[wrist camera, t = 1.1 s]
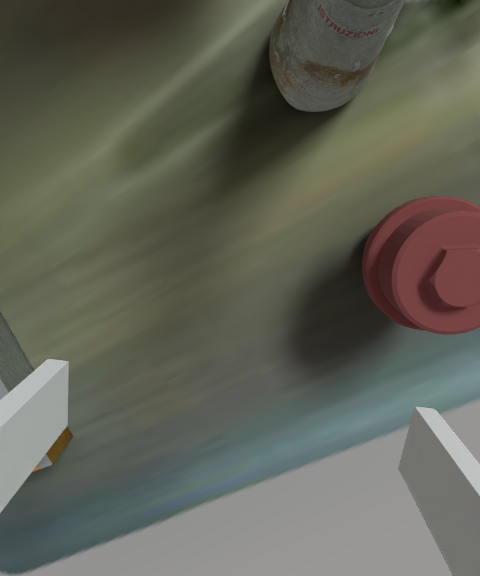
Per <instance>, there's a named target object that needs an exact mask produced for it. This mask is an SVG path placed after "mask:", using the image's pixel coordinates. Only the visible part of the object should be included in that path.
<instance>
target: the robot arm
mask: <svg viewBox="0 0 480 576" xmlns="http://www.w3.org/2000/svg"><path fill="white" fill-rule="evenodd" d="M68 362H69V361H61V360H54V359H47V360H46V361H45V362H44V363H43V364H42V365H40V366H39V367H38V368H37V369H36V370H35V371H34V372H32V373H31V374H30V375H29V376H28V377H27V378H25V379H24V380H23V381H22V382H21V383H20V384H18V385H17V386H16V387H15V388H14V389H13V390H11V391H10V392H9V393H8V394H7V395H6V396H4V397H3V398H2V399H1V400H0V513H1V512H2V510H3V509H4V508H5V506H6V505H7V504H8V502H9V501H10V500H11V498H12V497H13V496H14V495H15V493H16V492H17V491H18V489H19V488H20V487H21V485H22V484H23V483H24V481H25V480H26V479H27V478H28V476H29V475H30V474H31V472H32V471H33V470H34V468H35V467H36V466H37V464H38V463H39V462H40V461H41V459H42V458H43V457H44V455H45V454H46V453H47V451H48V450H49V449H50V447H51V446H52V445H53V444H54V442H55V441H56V440H57V438H58V437H59V436H60V434H61V433H62V432H63V430H64V429H65V428H66V427H67V419H68ZM398 469H399V471H400V472H401V474H402V476H403V478H404V480H405V482H406V484H407V486H408V488H409V490H410V492H411V494H412V496H413V498H414V500H415V502H416V504H417V506H418V508H419V510H420V512H421V514H422V516H423V518H424V520H425V522H426V524H427V526H428V528H429V529H430V531H431V533H432V535H433V537H434V539H435V541H436V543H437V545H438V547H439V549H440V551H441V553H442V555H443V557H444V559H445V561H446V563H447V565H448V567H449V569H450V571H451V573H452V575H453V576H480V464H479V463H478V462H477V461H476V459H475V458H474V457H473V456H472V454H471V453H470V452H469V451H468V449H467V448H466V447H465V446H464V444H463V443H462V442H461V441H460V440H459V438H458V437H457V436H456V435H455V433H454V432H453V431H452V429H451V428H450V427H449V426H448V425H447V423H446V422H445V421H444V419H443V418H442V417H441V416H440V415H439V413H438V412H437V411H436V410H435V409H431V408H423V407H416V406H415V408H414V412H413V415H412V419H411V423H410V427H409V430H408V434H407V438H406V441H405V445H404V449H403V453H402V456H401V460H400V464H399V468H398Z"/></svg>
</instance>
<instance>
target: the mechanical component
mask: <svg viewBox="0 0 480 576" xmlns="http://www.w3.org/2000/svg"><path fill="white" fill-rule="evenodd" d="M362 276H363V282H364V285H365V288H366V291H367V293H368V295H369V296H370V298H371V300H372V301H373V302H374V304H375V305H376V306H377V307H378V308H379V309H380V310H381V311H382V312H383V313H384V314H385V315H386V316H388V317H389V318H390V319H392V320H393V321H395V322H397V323H398V324H401V325H403V326H405V327H409V328H413V329H419V330H426V331H429V332H433V333H437V334H459V333H465V332H468V331H471V330H475V329H477V328H479V327H480V208H479V207H477V206H476V205H474V204H472V203H470V202H468V201H466V200H462V199H458V198H453V197H442V196H432V197H423V198H419V199H415V200H412V201H409V202H407V203H404V204H402V205H401V206H399V207H397V208H395V209H394V210H393V211H391V212H390V213H388V214H387V215H386V216H385V217H384V218H383V219H382V220H381V221H380V222H379V224H378V225H377V226H376V227H375V228H374V229H373V230H372V232H371V233H370V235H369V236H368V239H367V241H366V244H365V247H364V253H363V259H362Z"/></svg>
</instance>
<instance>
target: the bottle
mask: <svg viewBox="0 0 480 576" xmlns="http://www.w3.org/2000/svg"><path fill="white" fill-rule="evenodd" d="M404 1H405V0H289V1H288V2H287V4H286V5H285V7H284V9H283V10H282V12H281V13H280V15H279V16H278V18H277V20H276V22H275V24H274V27H273V29H272V32H271V36H270V44H269V58H270V66H271V70H272V74H273V77H274V79H275V82H276V84H277V86H278V88H279V90H280V92H281V94H282V95H283V97H284V98H285V99H286V101H287V102H288V103H289V104H290V105H291V106H293V107H294V108H296V109H298V110H302V111H308V112H320V111H327V110H331V109H334V108H337V107H339V106H342V105H344V104H345V103H347V102H348V101H350V100H351V99H352V98H353V97H355V96H356V95H357V94H358V93H359V92H360V90H361V89H362V88H363V87H364V85H365V84H366V82H367V81H368V79H369V77H370V76H371V74H372V71H373V69H374V66H375V63H376V61H377V59H378V56H379V54H380V51H381V50H382V47H383V45H384V43H385V41H386V39H387V37H388V36H389V34H390V33H391V31H392V29H393V26H394V23H395V21H396V18H397V16H398V14H399V12H400V9H401V7H402V5H403V3H404Z"/></svg>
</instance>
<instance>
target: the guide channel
mask: <svg viewBox="0 0 480 576" xmlns="http://www.w3.org/2000/svg"><path fill="white" fill-rule="evenodd" d="M32 372H34V369H33V368H32V366H31V364H30V363H29V361H28V359H27V357H26V356H25V354H24V352H23V351H22V349H21V347H20V345H19V344H18V342H17V340H16V339H15V337H14V335H13V333H12V332H11V330H10V328H9V327H8V325H7V323H6V321H5V320H4V318H3V316H2V315H1V313H0V400H1V399H2V398H3V397H4V396H6V395H7V394H8V393H9V392H10V391H11V390H13V389H14V388H15V387H16V386H17V385H18V384H20V383H21V382H22V381H23V380H24V379H25V378H27V377H28V376H29V375H30V374H31V373H32ZM72 437H73V436H72V434H71V433H70V431H69V429H68V428H67V427H66V428H65V429H64V430H63V432H62V433H61V434H60V436H59V437H58V438H57V440H56V441H55V442H54V444H53V445H52V446H51V447H50V449H49V450H48V451H47V453H46V454H45V455H44V457H43V458H42V459H41V461H40V462H39V463H38V464H37V466H36V467H35V468H34V470H33V471H32V472H34V471H37V470H39V469H42V468H45V467H47V466H50V465H53V463H54V462H55V461H56V459H57V458H58V456H59V455H60V454H61V452H62V451H63V450H64V448H65V447H66V445H67V444H68V443H69V441H70V440H71V439H72Z"/></svg>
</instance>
